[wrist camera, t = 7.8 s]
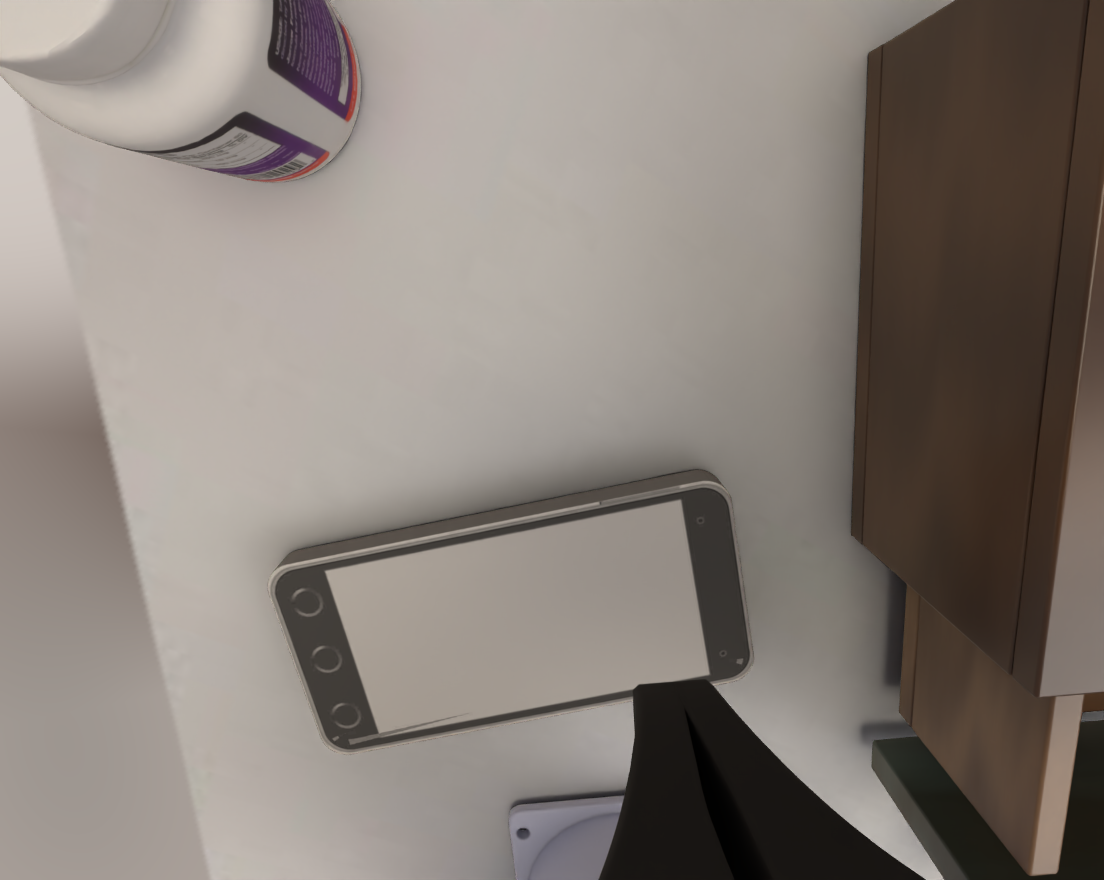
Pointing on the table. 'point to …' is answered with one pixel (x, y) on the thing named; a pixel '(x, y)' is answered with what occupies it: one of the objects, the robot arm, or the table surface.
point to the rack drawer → (992, 763)
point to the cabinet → (989, 330)
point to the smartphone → (516, 612)
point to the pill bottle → (191, 78)
